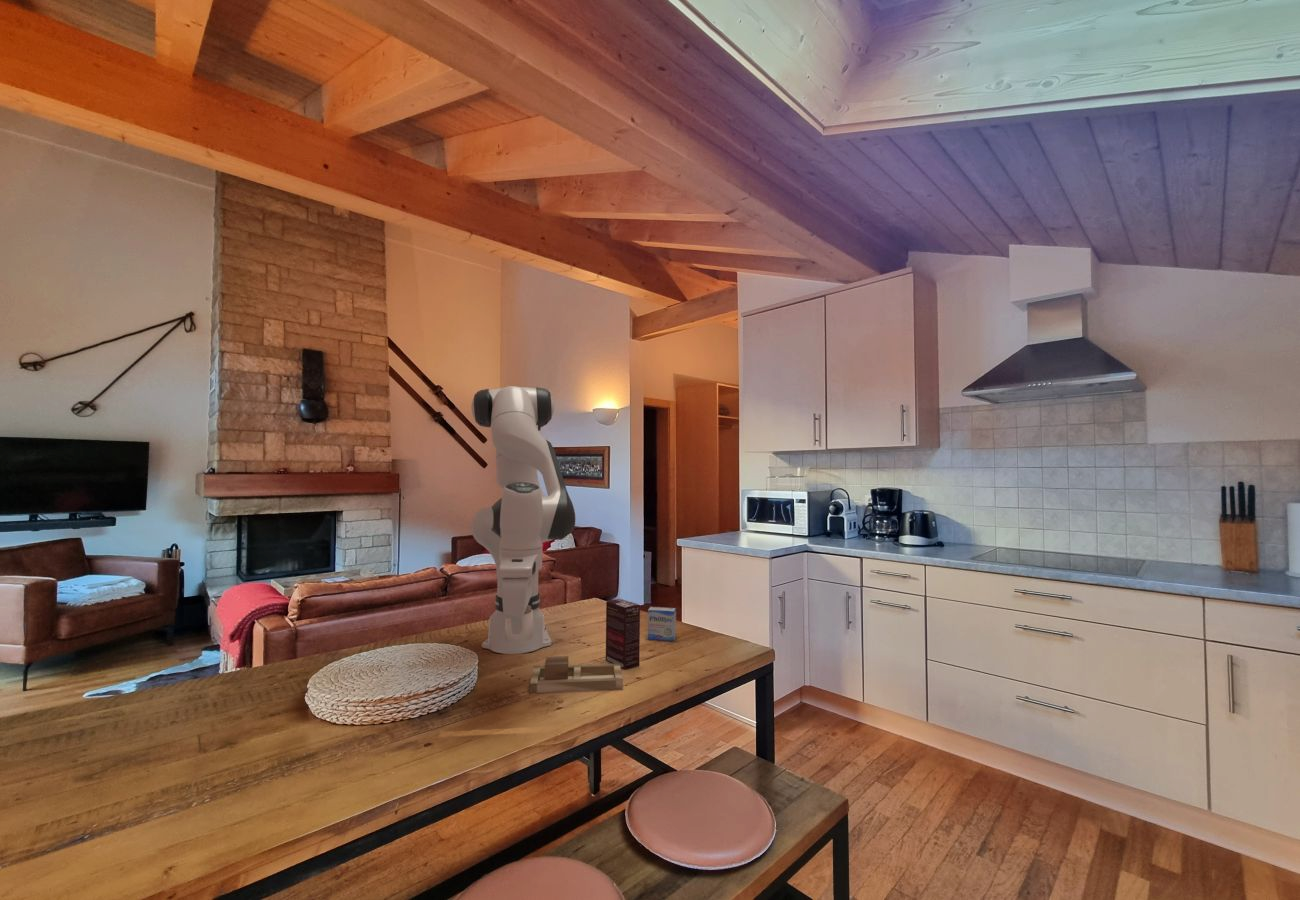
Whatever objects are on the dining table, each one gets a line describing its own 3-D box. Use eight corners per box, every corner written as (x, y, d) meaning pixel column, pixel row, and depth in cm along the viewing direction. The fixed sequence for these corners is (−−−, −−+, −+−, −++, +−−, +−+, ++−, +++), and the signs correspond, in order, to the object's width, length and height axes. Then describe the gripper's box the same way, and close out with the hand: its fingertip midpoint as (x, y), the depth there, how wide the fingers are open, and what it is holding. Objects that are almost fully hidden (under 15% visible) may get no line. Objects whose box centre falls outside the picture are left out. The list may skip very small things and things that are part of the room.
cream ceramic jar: (507, 633, 112) (507, 604, 112) (533, 633, 113) (534, 603, 113) (503, 642, 107) (503, 611, 107) (531, 642, 107) (531, 611, 107)
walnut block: (546, 678, 121) (546, 656, 121) (568, 677, 122) (568, 655, 122) (544, 687, 116) (544, 664, 116) (567, 686, 117) (567, 663, 117)
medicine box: (647, 640, 152) (647, 609, 153) (649, 635, 157) (650, 605, 157) (674, 641, 151) (674, 611, 151) (676, 637, 155) (676, 607, 156)
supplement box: (640, 669, 130) (641, 604, 130) (624, 674, 127) (625, 607, 127) (619, 659, 136) (620, 597, 137) (604, 663, 133) (605, 600, 134)
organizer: (534, 679, 123) (534, 666, 123) (619, 676, 125) (619, 663, 126) (529, 697, 113) (529, 683, 113) (622, 693, 115) (622, 680, 116)
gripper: (512, 552, 120) (510, 613, 120) (497, 570, 100) (495, 644, 99) (540, 552, 121) (538, 612, 120) (531, 570, 100) (529, 643, 100)
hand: (519, 627), depth 110 cm, fingers closed on cream ceramic jar, 6 cm apart
